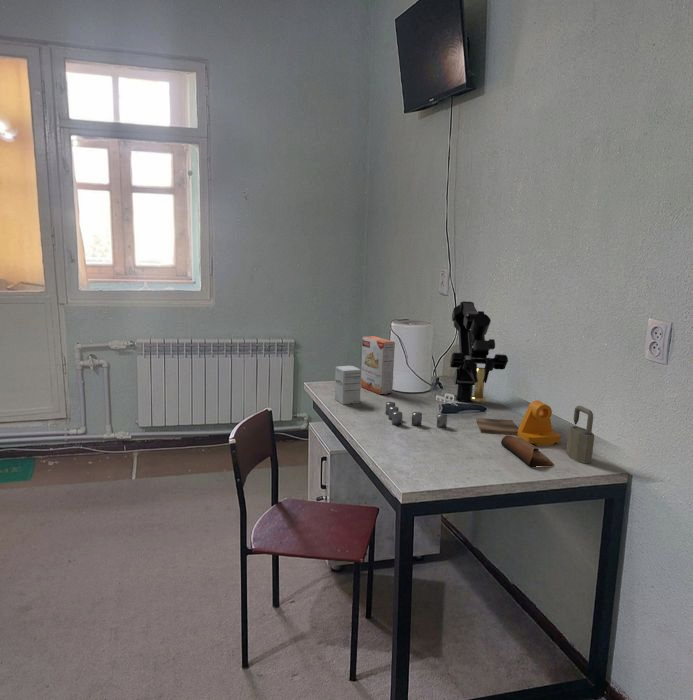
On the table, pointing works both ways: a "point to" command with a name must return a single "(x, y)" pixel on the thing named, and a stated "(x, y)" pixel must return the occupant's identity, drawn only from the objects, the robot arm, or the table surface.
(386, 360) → the cracker box
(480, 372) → the brass pin
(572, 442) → the padlock
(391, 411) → the dark grey domed cylinder
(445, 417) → the cylinder
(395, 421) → the cylinder
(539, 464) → the sunglasses case
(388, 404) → the dark grey domed cylinder
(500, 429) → the board
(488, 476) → the table surface
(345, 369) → the supplement box
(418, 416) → the dark gray domed cylinder
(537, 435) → the bracket
